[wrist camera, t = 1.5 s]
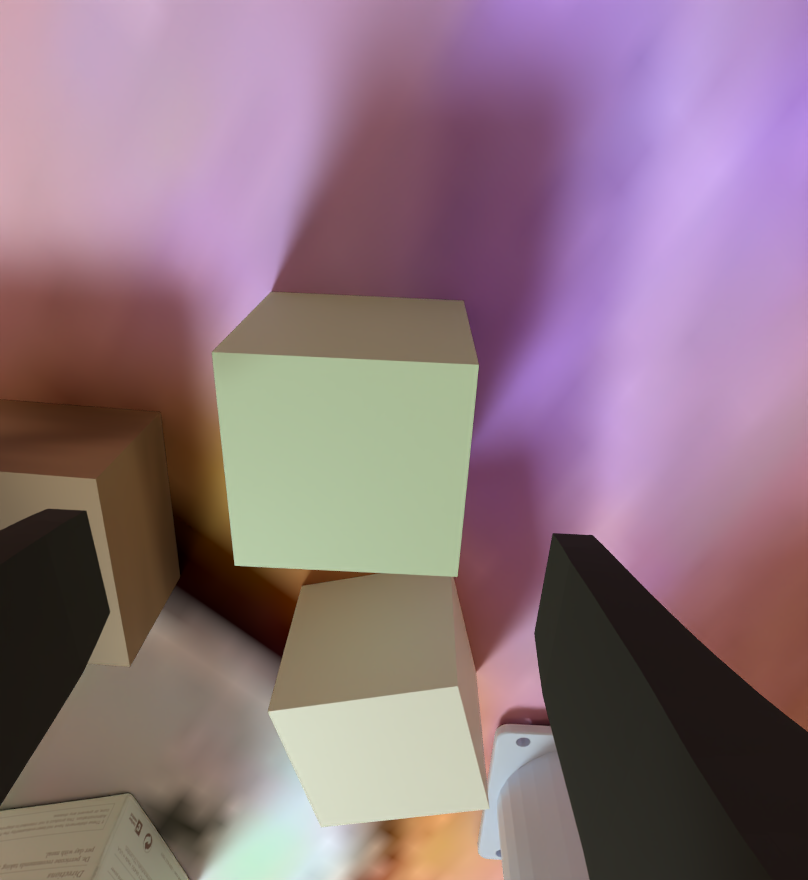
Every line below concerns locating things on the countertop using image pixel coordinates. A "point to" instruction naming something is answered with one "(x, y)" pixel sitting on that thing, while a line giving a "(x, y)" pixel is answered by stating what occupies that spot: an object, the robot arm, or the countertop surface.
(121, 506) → the walnut block
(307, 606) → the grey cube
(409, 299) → the sage cube
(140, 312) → the countertop surface
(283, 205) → the countertop surface
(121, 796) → the supplement box
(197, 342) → the countertop surface
